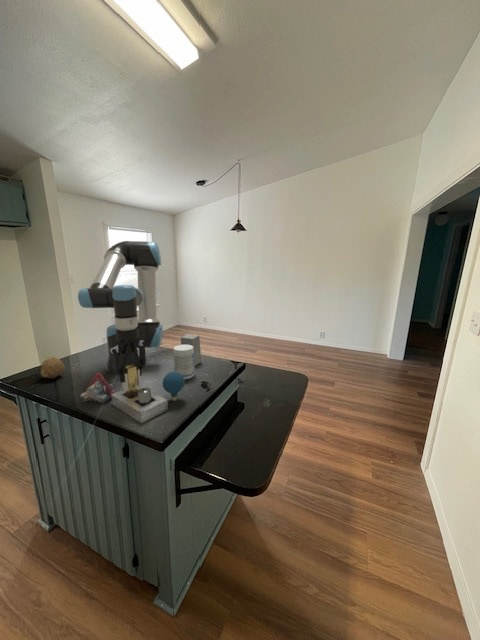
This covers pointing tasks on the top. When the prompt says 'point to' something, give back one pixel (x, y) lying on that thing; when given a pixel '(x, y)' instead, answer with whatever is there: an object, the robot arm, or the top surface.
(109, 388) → the grey red irregular piece
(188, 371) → the supplement tub
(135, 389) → the brass bushing
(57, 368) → the natural sponge
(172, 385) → the light bulb
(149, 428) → the top surface
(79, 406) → the top surface
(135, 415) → the jig
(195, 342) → the skincare box
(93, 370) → the top surface
